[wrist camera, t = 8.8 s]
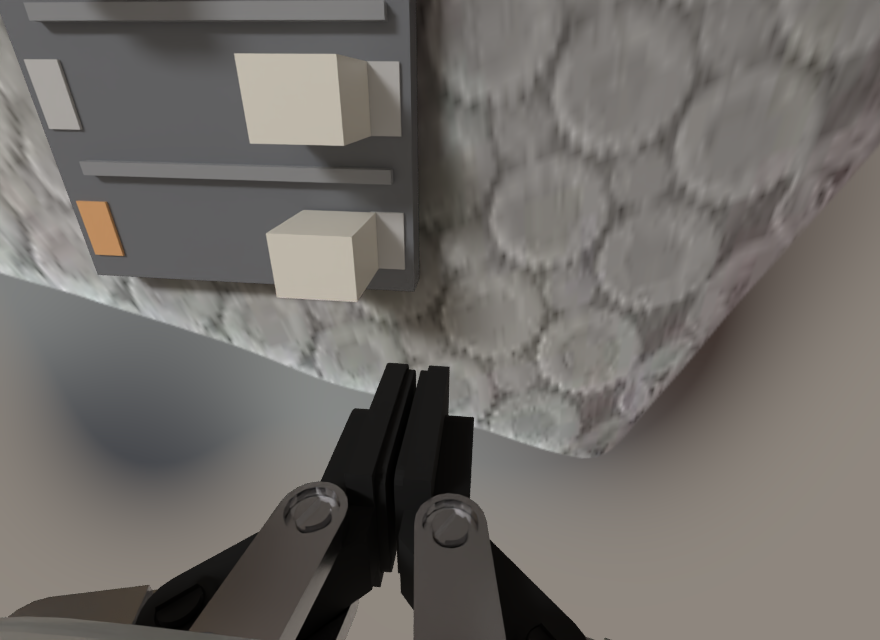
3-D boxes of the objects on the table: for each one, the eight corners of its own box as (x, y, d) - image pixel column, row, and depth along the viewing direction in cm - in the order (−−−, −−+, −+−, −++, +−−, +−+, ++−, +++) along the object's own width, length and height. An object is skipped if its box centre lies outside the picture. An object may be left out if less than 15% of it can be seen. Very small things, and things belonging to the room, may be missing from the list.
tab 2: (375, 212, 24) (351, 236, 20) (378, 268, 25) (357, 302, 21) (303, 210, 24) (265, 233, 20) (310, 265, 25) (277, 297, 21)
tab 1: (366, 61, 20) (336, 53, 16) (371, 136, 22) (343, 145, 18) (283, 60, 21) (233, 53, 17) (293, 134, 22) (249, 143, 18)
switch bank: (413, -170, 18) (402, -208, 16) (419, 278, 27) (412, 295, 25) (-21, -152, 20) (-88, -184, 18) (121, 263, 29) (90, 278, 27)
